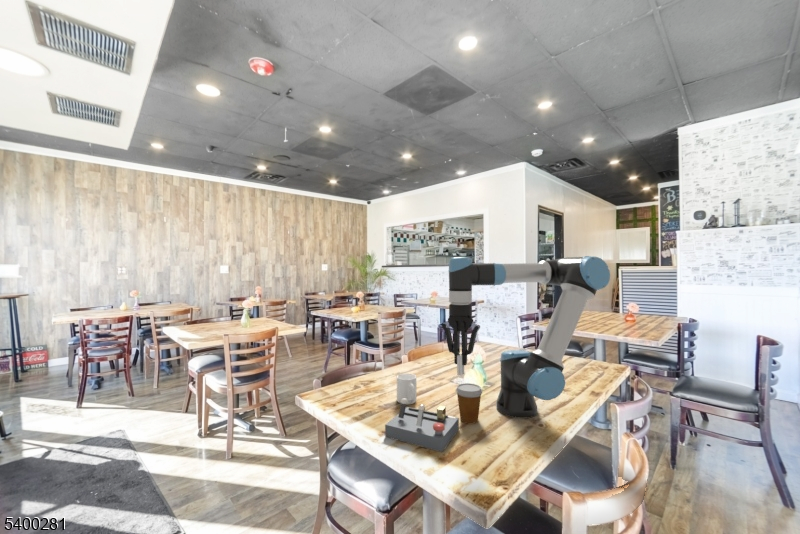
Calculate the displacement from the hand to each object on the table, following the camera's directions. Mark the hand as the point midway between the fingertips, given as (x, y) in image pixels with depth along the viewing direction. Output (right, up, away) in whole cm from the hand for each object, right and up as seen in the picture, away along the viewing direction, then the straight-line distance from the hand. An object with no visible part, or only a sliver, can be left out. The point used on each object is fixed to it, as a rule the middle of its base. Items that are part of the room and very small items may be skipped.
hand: (460, 374), depth 111 cm
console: (-13, -20, +2) cm, 24 cm away
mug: (-17, -21, +28) cm, 38 cm away
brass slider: (-6, -16, +3) cm, 18 cm away
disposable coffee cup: (+5, -21, +11) cm, 24 cm away
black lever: (-20, -17, +2) cm, 26 cm away
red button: (-8, -16, -7) cm, 20 cm away
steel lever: (-14, -16, -4) cm, 22 cm away
